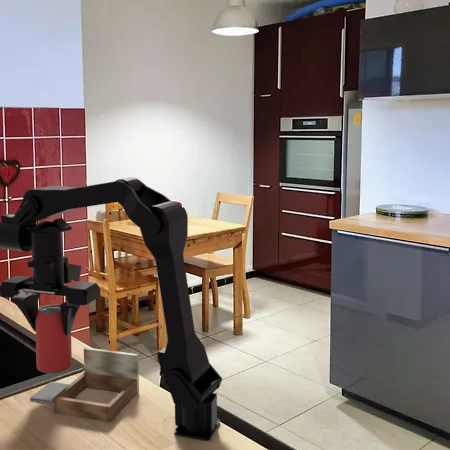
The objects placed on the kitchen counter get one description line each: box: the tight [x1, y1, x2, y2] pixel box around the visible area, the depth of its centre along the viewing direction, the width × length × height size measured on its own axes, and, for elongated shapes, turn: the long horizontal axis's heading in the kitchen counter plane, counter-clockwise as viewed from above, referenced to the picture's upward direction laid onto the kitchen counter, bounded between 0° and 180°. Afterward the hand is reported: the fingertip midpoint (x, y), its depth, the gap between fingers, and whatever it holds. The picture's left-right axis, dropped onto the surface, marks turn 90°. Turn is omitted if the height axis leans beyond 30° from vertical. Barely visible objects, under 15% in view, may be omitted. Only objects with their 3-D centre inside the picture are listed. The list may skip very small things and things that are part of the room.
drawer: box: [52, 347, 140, 424], centre depth 110 cm, size 12×12×8 cm
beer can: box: [35, 304, 73, 374], centre depth 112 cm, size 7×7×12 cm
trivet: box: [29, 381, 70, 404], centre depth 114 cm, size 6×7×1 cm
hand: (52, 332), depth 111 cm, fingers closed on beer can, 6 cm apart
